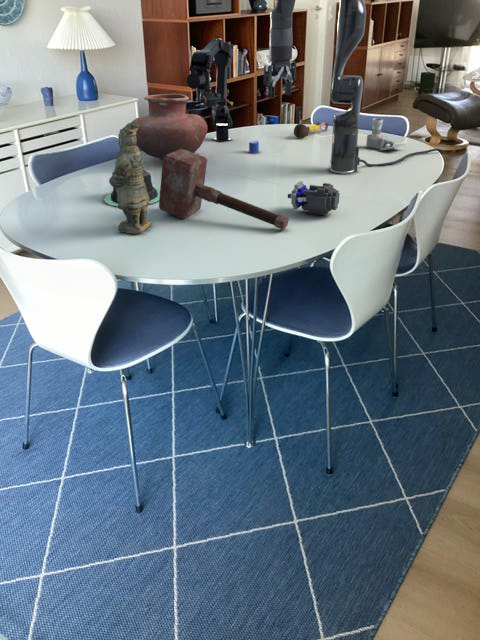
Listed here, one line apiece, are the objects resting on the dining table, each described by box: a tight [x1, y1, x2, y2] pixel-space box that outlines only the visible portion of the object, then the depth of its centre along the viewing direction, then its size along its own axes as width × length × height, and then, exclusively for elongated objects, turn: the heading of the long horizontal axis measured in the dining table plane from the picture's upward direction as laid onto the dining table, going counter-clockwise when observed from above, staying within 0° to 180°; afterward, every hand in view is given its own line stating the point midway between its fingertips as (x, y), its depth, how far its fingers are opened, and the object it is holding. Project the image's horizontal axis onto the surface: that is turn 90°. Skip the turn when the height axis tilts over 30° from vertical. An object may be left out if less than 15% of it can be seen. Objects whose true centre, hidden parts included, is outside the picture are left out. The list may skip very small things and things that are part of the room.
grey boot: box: [365, 117, 406, 152], centre depth 234 cm, size 9×12×15 cm
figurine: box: [293, 119, 329, 139], centre depth 263 cm, size 13×8×25 cm
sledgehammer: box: [158, 149, 290, 231], centre depth 163 cm, size 17×10×40 cm
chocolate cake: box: [103, 168, 160, 207], centre depth 186 cm, size 15×19×20 cm
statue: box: [108, 120, 153, 235], centre depth 154 cm, size 11×9×30 cm
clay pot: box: [131, 93, 209, 161], centre depth 222 cm, size 30×30×25 cm
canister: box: [248, 140, 260, 154], centre depth 236 cm, size 4×4×4 cm
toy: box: [287, 180, 341, 216], centre depth 168 cm, size 9×9×15 cm
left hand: (205, 124), depth 237 cm, fingers open, 9 cm apart
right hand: (279, 96), depth 190 cm, fingers open, 8 cm apart
